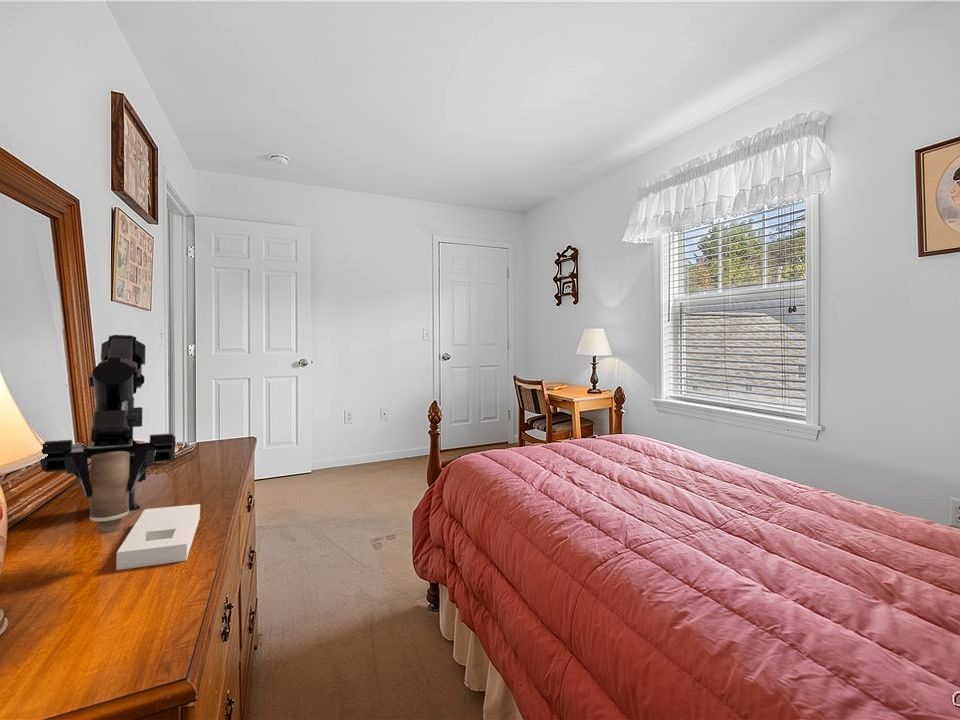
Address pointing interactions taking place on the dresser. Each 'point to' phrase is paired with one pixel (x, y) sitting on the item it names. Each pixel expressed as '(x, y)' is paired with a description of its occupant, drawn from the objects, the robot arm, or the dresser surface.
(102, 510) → the peg
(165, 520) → the board
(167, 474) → the dresser surface
